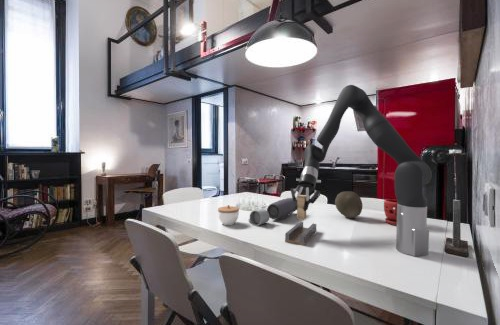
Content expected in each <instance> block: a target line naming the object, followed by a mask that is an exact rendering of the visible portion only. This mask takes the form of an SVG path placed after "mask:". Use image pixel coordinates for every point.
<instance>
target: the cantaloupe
mask: <svg viewBox="0 0 500 325" xmlns="http://www.w3.org/2000/svg"><path fill="white" fill-rule="evenodd" d="M334 204H335V208H336V210H337V211H338V212H339V213H340V214H341V215H342V216H344V217H346V218H348V219H353V218H357V217H359V216H360V215H361V214H362V210H363V201H362V198H361V197H360V196H359V195H358V194H357V193H356V192H354V191H351V190H350V191H349V190H348V191H341V192H339V193H338V194H337V195H336V197H335V200H334Z"/></svg>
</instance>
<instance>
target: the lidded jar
mask: <svg viewBox="0 0 500 325" xmlns="http://www.w3.org/2000/svg"><path fill="white" fill-rule="evenodd" d="M239 210H240V208H239V207H236V206H231V205H227V206H220V207H218V208H217V212H218V213H217V215H218V219H219V221H220V222H221V223H222V225H224V226H232V225H235V223H236V222H237V221H238V219H239V213H240V211H239Z"/></svg>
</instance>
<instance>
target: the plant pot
mask: <svg viewBox="0 0 500 325" xmlns="http://www.w3.org/2000/svg"><path fill="white" fill-rule="evenodd" d="M383 211H384V214H385V217H386V218H384V221H385V222H386V223H387V224H389V225H393V226H396V227H397V199H384V200H383Z"/></svg>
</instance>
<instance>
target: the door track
mask: <svg viewBox="0 0 500 325" xmlns="http://www.w3.org/2000/svg"><path fill="white" fill-rule="evenodd" d="M316 232H318V231H317V223H312V224H311V225H310V226H309V227H304V221H299V222H297V223H296V224H295V225H294V226H293V227H291V228H290V229H289V230H288V231H286V232H285V234H284V236H285V237H284V242H285V243H288V244H294V245H298V246H299V245H301V246H306V244H307V243H308V242H309V241H310V240H311V238H312V237H314V236H315V234H316Z"/></svg>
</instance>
